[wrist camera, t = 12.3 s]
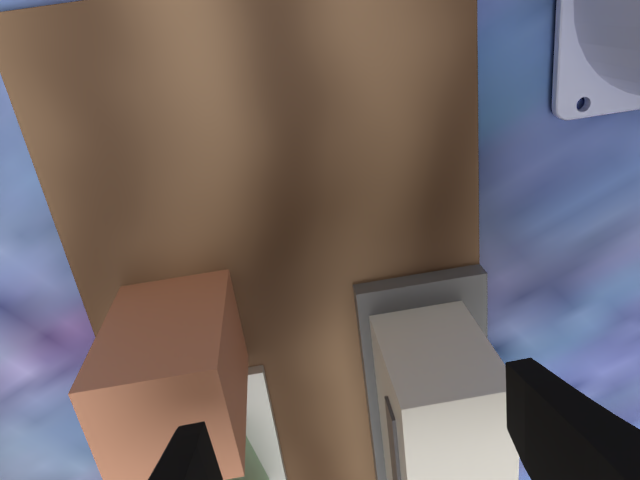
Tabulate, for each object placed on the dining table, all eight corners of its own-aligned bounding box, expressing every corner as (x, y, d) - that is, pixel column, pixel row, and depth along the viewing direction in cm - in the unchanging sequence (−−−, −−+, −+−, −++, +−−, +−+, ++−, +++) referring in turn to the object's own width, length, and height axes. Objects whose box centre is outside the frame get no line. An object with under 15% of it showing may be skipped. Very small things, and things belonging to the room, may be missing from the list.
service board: (465, -53, 18) (476, -55, 17) (473, 468, 27) (481, 485, 26) (-6, 14, 17) (-21, 14, 16) (172, 522, 26) (169, 541, 26)
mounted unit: (479, 263, 21) (555, 355, 16) (481, 485, 26) (539, 613, 21) (352, 284, 21) (385, 385, 15) (378, 503, 26) (410, 638, 20)
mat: (262, 364, 22) (262, 372, 22) (295, 518, 26) (296, 528, 25) (114, 389, 22) (111, 398, 21) (169, 541, 26) (167, 551, 25)
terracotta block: (228, 268, 20) (217, 368, 15) (248, 356, 22) (244, 476, 16) (120, 286, 20) (67, 393, 15) (148, 373, 22) (111, 500, 16)
